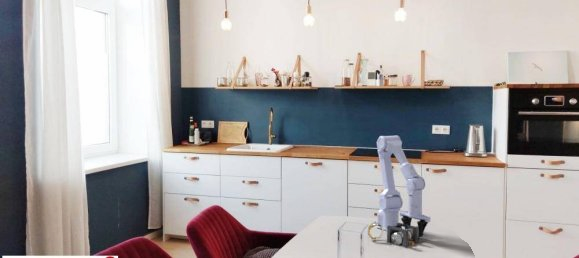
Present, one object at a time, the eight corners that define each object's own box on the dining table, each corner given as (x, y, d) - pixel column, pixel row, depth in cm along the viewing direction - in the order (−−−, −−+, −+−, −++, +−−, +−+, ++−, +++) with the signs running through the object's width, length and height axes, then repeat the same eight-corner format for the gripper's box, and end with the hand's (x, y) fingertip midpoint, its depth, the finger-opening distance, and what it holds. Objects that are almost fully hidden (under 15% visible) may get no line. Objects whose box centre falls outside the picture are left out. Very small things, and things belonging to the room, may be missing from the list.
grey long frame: (400, 246, 200) (401, 234, 199) (391, 243, 203) (391, 231, 203) (422, 238, 210) (422, 227, 210) (412, 235, 214) (413, 224, 213)
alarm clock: (368, 240, 206) (368, 222, 206) (366, 238, 210) (367, 220, 209) (384, 241, 207) (384, 222, 206) (382, 238, 210) (383, 220, 209)
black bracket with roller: (386, 242, 205) (387, 226, 205) (398, 238, 211) (399, 222, 210) (407, 247, 197) (407, 231, 197) (418, 243, 203) (419, 227, 203)
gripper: (434, 206, 206) (433, 236, 207) (406, 200, 217) (405, 229, 218) (425, 208, 202) (424, 240, 203) (397, 202, 213) (396, 232, 214)
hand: (414, 234), depth 210 cm, fingers open, 6 cm apart
